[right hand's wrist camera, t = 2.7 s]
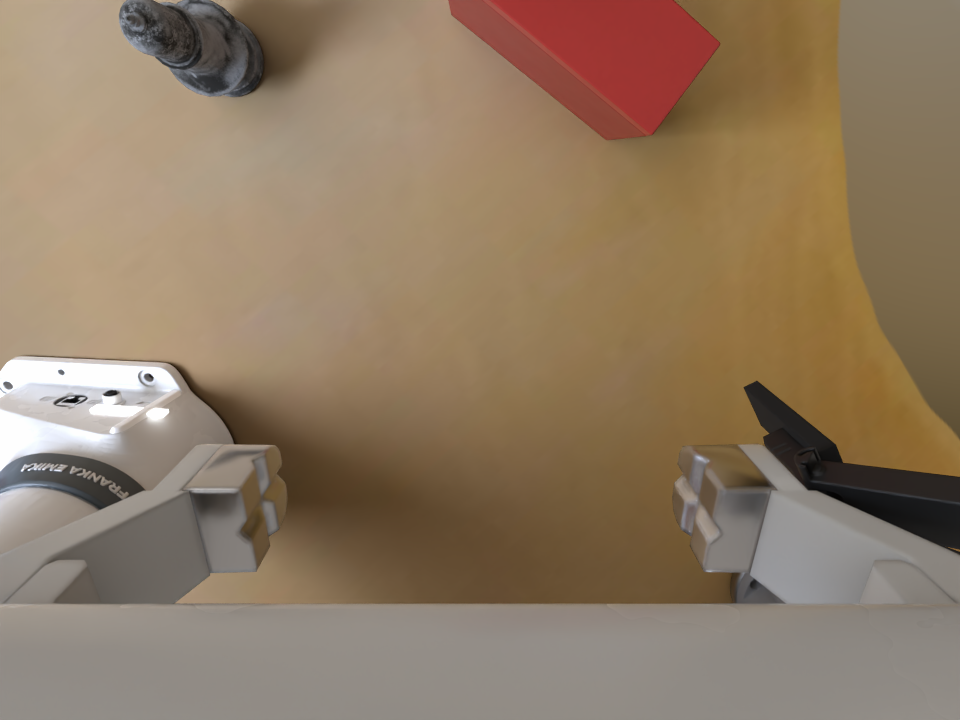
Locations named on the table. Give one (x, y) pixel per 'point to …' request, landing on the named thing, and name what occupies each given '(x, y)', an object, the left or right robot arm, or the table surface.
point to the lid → (619, 49)
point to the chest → (542, 69)
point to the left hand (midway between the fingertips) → (884, 341)
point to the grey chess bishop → (196, 44)
